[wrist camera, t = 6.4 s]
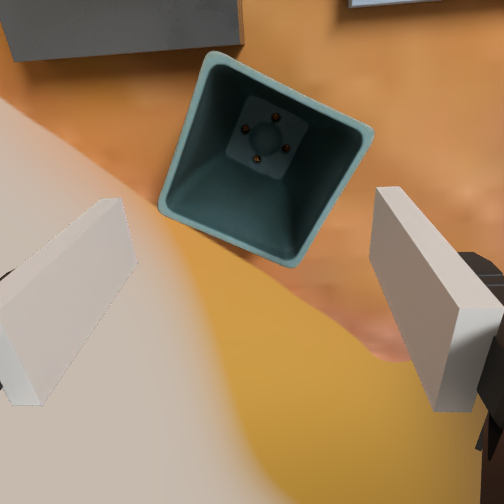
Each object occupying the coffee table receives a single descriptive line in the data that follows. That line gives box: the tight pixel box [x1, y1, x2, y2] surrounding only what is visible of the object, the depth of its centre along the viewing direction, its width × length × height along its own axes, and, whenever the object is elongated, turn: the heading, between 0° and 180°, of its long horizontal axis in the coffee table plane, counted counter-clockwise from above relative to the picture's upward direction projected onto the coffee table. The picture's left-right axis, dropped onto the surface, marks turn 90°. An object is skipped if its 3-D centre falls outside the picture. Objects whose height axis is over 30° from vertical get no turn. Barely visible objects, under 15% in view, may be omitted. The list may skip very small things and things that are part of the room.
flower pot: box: [157, 51, 375, 268], centre depth 23 cm, size 9×9×9 cm
